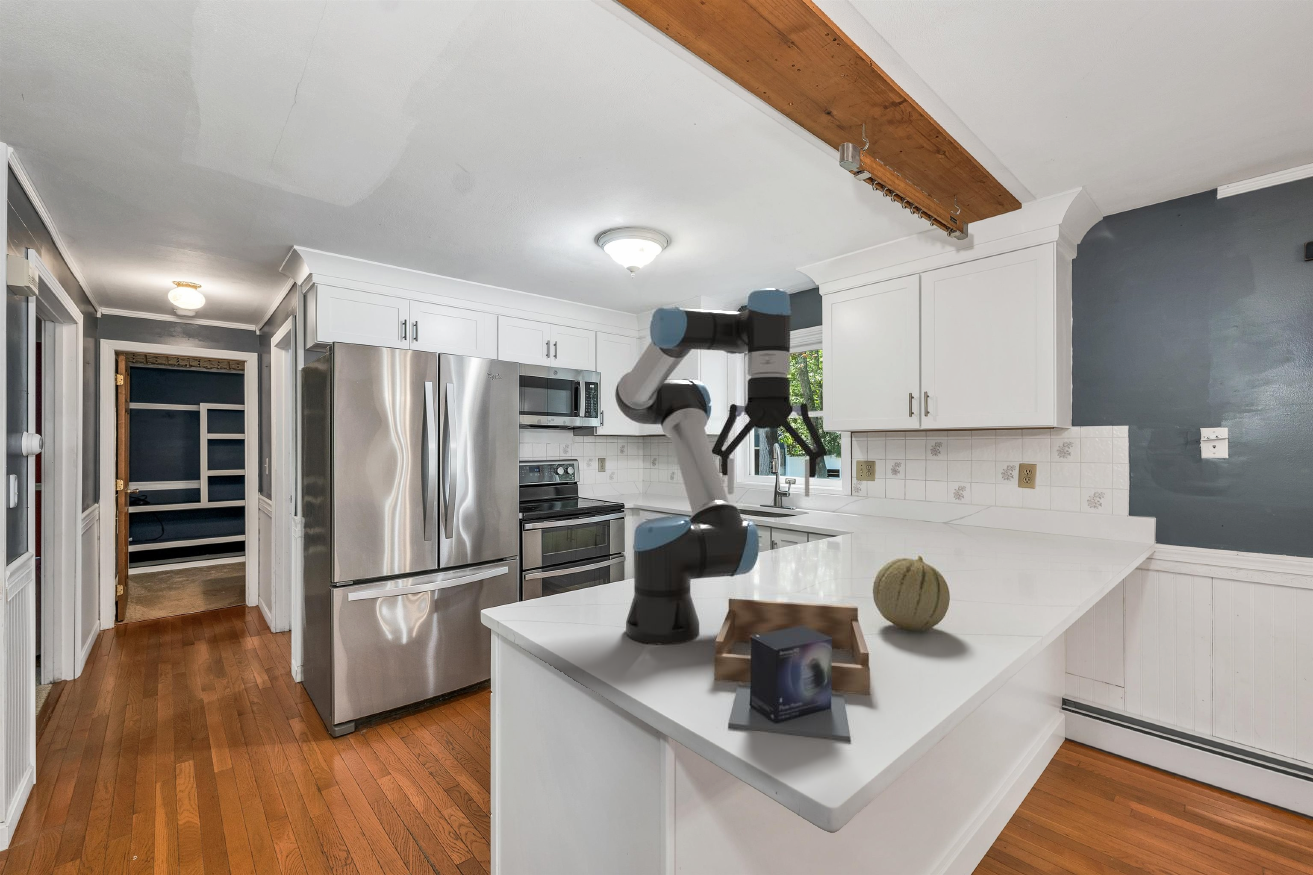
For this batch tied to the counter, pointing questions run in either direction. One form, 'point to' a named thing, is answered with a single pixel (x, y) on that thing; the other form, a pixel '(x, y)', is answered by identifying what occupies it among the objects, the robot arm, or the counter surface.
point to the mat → (812, 725)
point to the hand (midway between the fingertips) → (768, 494)
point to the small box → (790, 673)
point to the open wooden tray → (784, 615)
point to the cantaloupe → (911, 594)
